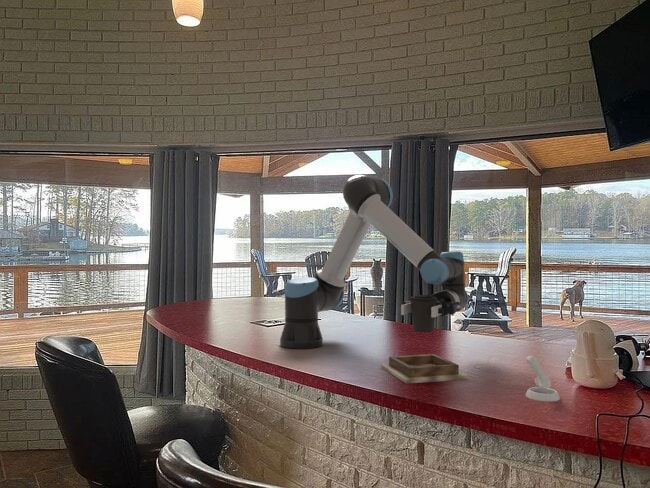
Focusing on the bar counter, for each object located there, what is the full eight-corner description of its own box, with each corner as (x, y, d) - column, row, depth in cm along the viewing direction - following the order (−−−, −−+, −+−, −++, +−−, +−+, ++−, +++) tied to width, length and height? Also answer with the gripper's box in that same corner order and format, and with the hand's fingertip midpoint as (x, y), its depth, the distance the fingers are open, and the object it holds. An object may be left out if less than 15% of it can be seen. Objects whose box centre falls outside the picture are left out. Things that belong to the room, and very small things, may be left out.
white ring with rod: (501, 373, 132) (517, 354, 135) (529, 412, 133) (545, 392, 136) (522, 373, 125) (539, 354, 128) (552, 414, 126) (568, 394, 129)
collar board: (406, 383, 142) (406, 370, 142) (381, 367, 159) (381, 355, 159) (467, 379, 147) (468, 366, 146) (437, 364, 164) (437, 352, 164)
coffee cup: (432, 334, 147) (432, 297, 147) (404, 331, 152) (404, 295, 151) (442, 329, 154) (442, 294, 154) (415, 327, 158) (415, 293, 158)
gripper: (477, 317, 163) (454, 328, 143) (412, 312, 174) (382, 321, 154) (477, 292, 163) (454, 299, 143) (412, 289, 174) (382, 295, 154)
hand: (417, 311), depth 149 cm, fingers closed on coffee cup, 8 cm apart
